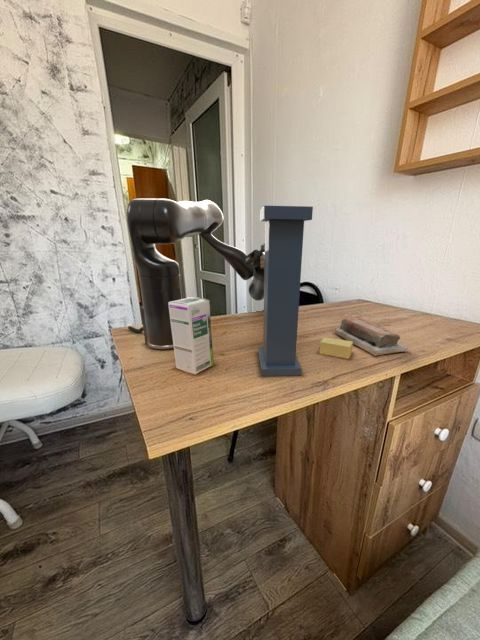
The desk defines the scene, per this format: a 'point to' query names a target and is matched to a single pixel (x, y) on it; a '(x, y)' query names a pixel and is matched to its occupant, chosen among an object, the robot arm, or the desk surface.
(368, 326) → the plastering float
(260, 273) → the robot arm
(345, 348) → the butter block
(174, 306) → the syrup box
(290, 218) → the square pillar stand
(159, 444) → the desk surface
